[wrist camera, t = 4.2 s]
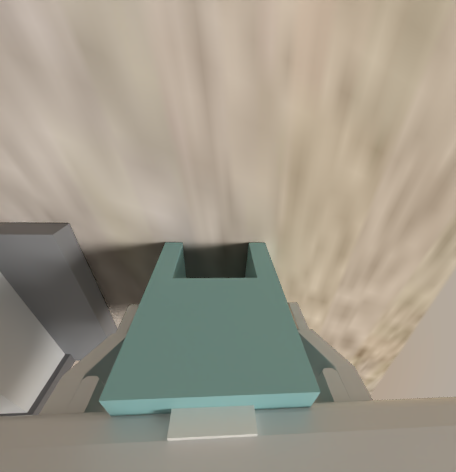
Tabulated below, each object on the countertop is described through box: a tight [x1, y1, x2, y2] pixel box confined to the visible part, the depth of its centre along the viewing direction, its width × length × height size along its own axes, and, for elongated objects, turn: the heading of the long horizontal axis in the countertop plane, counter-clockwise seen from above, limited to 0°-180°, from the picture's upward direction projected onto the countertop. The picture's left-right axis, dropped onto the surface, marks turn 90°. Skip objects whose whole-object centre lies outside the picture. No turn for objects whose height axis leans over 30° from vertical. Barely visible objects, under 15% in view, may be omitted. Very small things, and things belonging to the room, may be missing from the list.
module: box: [99, 242, 320, 441], centre depth 10 cm, size 6×6×8 cm
